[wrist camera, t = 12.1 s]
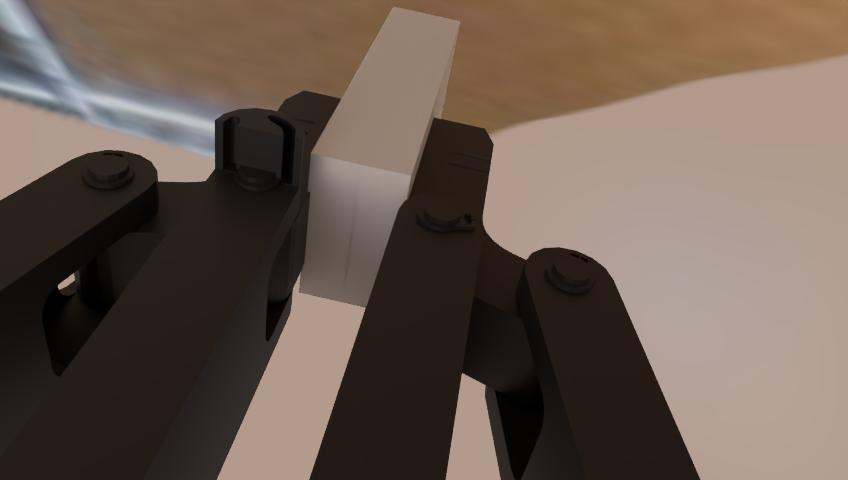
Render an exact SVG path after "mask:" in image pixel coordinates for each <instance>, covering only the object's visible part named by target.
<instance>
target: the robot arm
mask: <svg viewBox="0 0 848 480" xmlns="http://www.w3.org/2000/svg"><path fill="white" fill-rule="evenodd" d="M460 22H461V21H457V20H453V19H448V18H443V17H439V16H434V15H430V14H425V13H421V12H416V11H412V10H407V9H402V8H398V7H393V8H392V10H391V12H390V13H389V15H388V17H387V19H386V20H385V22H384V24H383V26H382V28H381V29H380V31H379V33H378V35H377V36H376V38H375V40H374V42H373V44H372V45H371V47H370V49H369V51H368V53H367V54H366V56H365V58H364V60H363V61H362V63H361V65H360V67H359V69H358V70H357V72H356V74H355V76H354V77H353V79H352V81H351V83H350V85H349V86H348V88H347V90H346V92H345V93H344V95H343V97H342V99H340V98H335V97H331V96H326V95H322V94H317V93H313V92H308V91H302V92H300V93H298V94H296V95H294V96H292V97H290V98H288V99H286V100H285V101H284V102H283V104H282V105H281V107H280V108H279V110H278V111H277V112H276V111H273V110H266V109H258V108H253V109H239V110H235V111H232V112H228V113H225V114H223V115H222V116H221V117H219V118H218V119H216V120H215V170H214V171H213V172H212V174H211V175H210V176H209V178H208V179H207V180H206V181H203V182H158V176H157V170H156V168H155V167H154V166H153V164H152V162H150V161H149V160H147V159H145V158H144V157H142V156H140V155H137V154H133V153H129V152H125V151H117V150H116V151H113V150H104V151H99V152H93V153H87V154H85V155H82V156H79V157H77V158H74V159H72V160H70V161H68V162H67V163H65V164H63V165H62V166H60V167H58V168H56V169H55V170H53V171H51V172H49V173H47V174H46V175H44V176H42V177H41V178H39V179H37V180H35V181H33V182H32V183H30V184H28V185H27V186H25V187H23V188H22V189H20V190H18V191H16V192H14V193H13V194H11V195H9V196H7V197H6V198H4V199H2V200H0V480H217V478H218V475H219V473H220V471H221V469H222V466H223V464H224V462H225V459H226V457H227V455H228V453H229V450H230V448H231V446H232V444H233V441H234V439H235V437H236V435H237V432H238V430H239V428H240V426H241V423H242V421H243V419H244V416H245V414H246V412H247V410H248V407H249V405H250V403H251V400H252V398H253V396H254V394H255V392H256V389H257V387H258V385H259V382H260V380H261V378H262V376H263V374H264V371H265V369H266V367H267V364H268V362H269V360H270V357H271V355H272V353H273V351H274V349H275V346H276V344H277V342H278V340H279V338H280V335H281V333H282V331H283V328H284V326H285V324H286V321H287V319H288V317H289V315H290V311H291V304H292V292H293V287H294V285H295V283H296V281H297V278H298V276H299V274H300V272H301V278H300V289H299V292H300V293H305V294H309V295H313V296H318V297H322V298H327V299H331V300H335V301H340V302H344V303H348V304H353V305H357V306H361V307H366V309H365V312H364V315H363V318H362V322H361V325H360V328H359V331H358V334H357V337H356V340H355V343H354V346H353V349H352V352H351V355H350V358H349V361H348V364H347V367H346V370H345V373H344V376H343V379H342V382H341V385H340V389H339V391H338V394H337V397H336V401H335V403H334V407H333V410H332V413H331V416H330V419H329V422H328V425H327V428H326V431H325V434H324V437H323V440H322V443H321V446H320V449H319V452H318V456H317V458H316V461H315V464H314V467H313V470H312V473H311V476H310V479H309V480H445V479H446V473H447V467H448V460H449V453H450V447H451V440H452V434H453V427H454V420H455V414H456V408H457V401H458V394H459V388H460V381H461V375H462V373H463V374H465V375H468V376H469V377H471V378H473V379H475V380H477V381H479V382H481V383H483V384H485V385H486V389H485V398H486V403H487V409H488V414H489V419H490V425H491V430H492V435H493V440H494V445H495V451H496V456H497V461H498V466H499V472H500V477H501V480H700V478H699V476H698V473H697V471H696V469H695V467H694V464H693V462H692V459H691V457H690V455H689V453H688V450H687V448H686V446H685V443H684V441H683V439H682V437H681V434H680V432H679V430H678V427H677V425H676V423H675V420H674V418H673V416H672V414H671V411H670V409H669V407H668V404H667V402H666V400H665V397H664V395H663V393H662V391H661V388H660V386H659V384H658V381H657V379H656V377H655V374H654V372H653V370H652V367H651V365H650V363H649V361H648V358H647V356H646V354H645V351H644V349H643V347H642V344H641V342H640V340H639V338H638V335H637V333H636V331H635V329H634V326H633V324H632V322H631V319H630V317H629V315H628V312H627V310H626V308H625V305H624V303H623V301H622V298H621V296H620V294H619V292H618V289H617V287H616V285H615V283H614V280H613V278H612V277H611V276H610V274H609V273H608V271H607V270H606V269H605V268H604V267H603V266H602V265H601V264H599V263H598V262H597V261H595V260H594V259H593V258H591V257H588V256H586V255H584V254H582V253H580V252H578V251H574V250H569V249H565V248H560V247H558V248H543V249H541V250H538V251H536V252H534V253H532V254H531V255H530V256H529V258H528V259H527V260H525V259H523V258H521V257H519V256H517V255H514V254H512V253H511V252H509V251H507V250H505V249H503V248H502V247H500V246H499V245H498V244H497V243H496V242H494V241H493V240H492V239H491V238H490V236H489V235H488V234H487V233H486V231H485V229H484V226H483V218H482V216H483V210H484V204H485V197H486V191H487V184H488V176H489V171H490V164H491V158H492V151H493V142H492V141H491V139H490V137H489V135H488V133H487V132H486V130H485V129H483V128H479V127H475V126H470V125H466V124H461V123H457V122H452V121H448V120H443V119H441V116H442V111H443V106H444V101H445V96H446V91H447V86H448V81H449V76H450V71H451V67H452V62H453V57H454V52H455V47H456V42H457V37H458V32H459V27H460ZM73 273H74V276H75V281H74V282H72V283H71V284H69V285H68V286H67V287H65V288H63V289H60V290H59V289H58V285H59V284H60V283H61V282H62V281H63V280H65V279H66V278H68V277H69V276H70V275H72V274H73Z"/></svg>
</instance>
